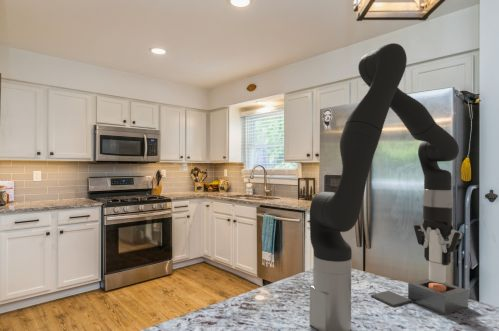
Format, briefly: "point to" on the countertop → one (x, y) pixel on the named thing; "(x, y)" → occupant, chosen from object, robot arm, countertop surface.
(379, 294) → the pad
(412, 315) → the countertop surface
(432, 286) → the orange dome
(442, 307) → the frame
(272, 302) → the countertop surface
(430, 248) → the tube
